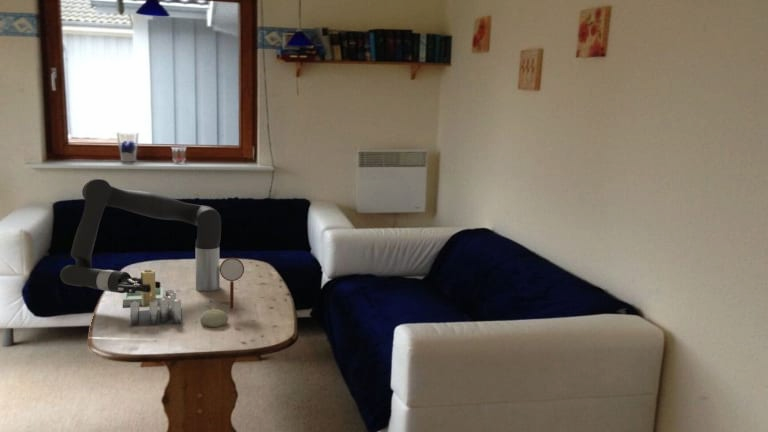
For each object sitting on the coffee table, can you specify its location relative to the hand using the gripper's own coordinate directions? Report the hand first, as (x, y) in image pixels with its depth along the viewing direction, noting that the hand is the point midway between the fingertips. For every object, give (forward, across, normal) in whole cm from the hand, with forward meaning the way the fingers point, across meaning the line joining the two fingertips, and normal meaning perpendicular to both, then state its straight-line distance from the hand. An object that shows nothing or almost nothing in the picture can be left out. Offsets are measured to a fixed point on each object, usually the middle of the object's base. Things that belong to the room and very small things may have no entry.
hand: (154, 287), depth 239 cm
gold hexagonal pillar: (-3, 0, +7) cm, 7 cm away
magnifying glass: (+19, +20, +12) cm, 30 cm away
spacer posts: (+1, -1, +11) cm, 11 cm away
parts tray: (-17, +16, +12) cm, 26 cm away
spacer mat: (0, +1, +12) cm, 12 cm away
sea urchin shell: (+20, +5, +12) cm, 24 cm away
